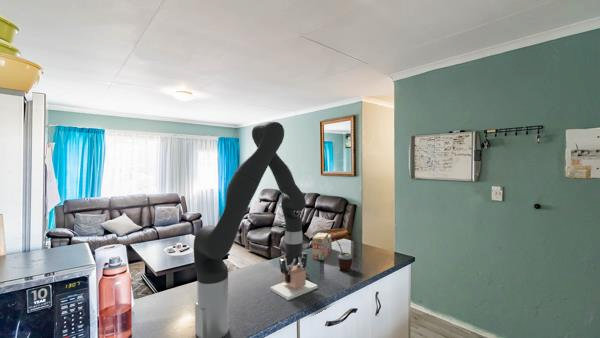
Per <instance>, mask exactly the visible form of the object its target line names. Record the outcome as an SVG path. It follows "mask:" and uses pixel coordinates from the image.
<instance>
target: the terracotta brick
mask: <svg viewBox="0 0 600 338" xmlns="http://www.w3.org/2000/svg"><path fill="white" fill-rule="evenodd" d="M289 266H290V265H289ZM288 269H289V268H288ZM306 274H307V272H306V269H305V270H304V269H301V268H299V267H297V266H295V265H294V266H293V268H292V269H291V272H290V283H287V282H286V281H285V274H283V273H282V274H281V275H282V278H281V279H282V283H283V282H284V283H286V284H288V285H290V286H291V287H293V288H295V289H296V288H298V287H301V286H304V285H306V280H307V279H306V277H307V275H306Z"/></svg>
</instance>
